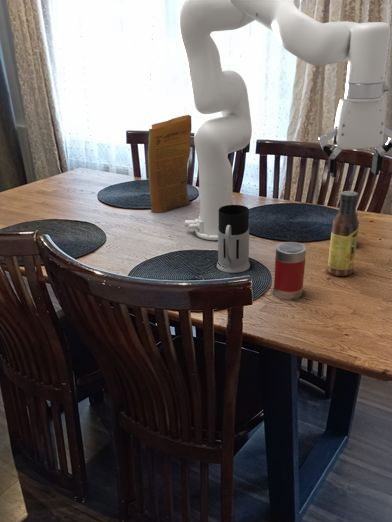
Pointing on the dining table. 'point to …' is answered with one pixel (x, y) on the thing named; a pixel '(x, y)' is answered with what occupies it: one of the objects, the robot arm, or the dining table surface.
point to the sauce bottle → (344, 236)
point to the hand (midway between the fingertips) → (353, 174)
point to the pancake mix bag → (169, 163)
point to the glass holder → (233, 238)
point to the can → (289, 270)
